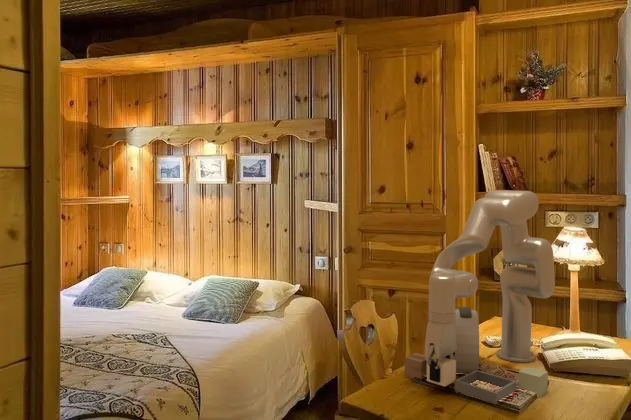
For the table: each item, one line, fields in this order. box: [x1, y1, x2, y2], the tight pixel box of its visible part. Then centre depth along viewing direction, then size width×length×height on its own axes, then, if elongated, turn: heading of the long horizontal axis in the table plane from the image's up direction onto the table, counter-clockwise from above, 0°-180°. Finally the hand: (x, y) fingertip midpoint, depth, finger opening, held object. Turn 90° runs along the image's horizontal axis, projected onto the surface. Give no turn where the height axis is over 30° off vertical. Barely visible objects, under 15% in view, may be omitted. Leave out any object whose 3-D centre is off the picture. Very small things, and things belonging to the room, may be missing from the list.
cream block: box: [426, 357, 457, 387], centre depth 154 cm, size 6×6×6 cm
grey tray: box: [454, 369, 518, 404], centre depth 152 cm, size 13×13×4 cm
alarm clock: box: [454, 306, 480, 374], centre depth 172 cm, size 21×8×20 cm, turn 168°
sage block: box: [517, 365, 549, 399], centre depth 153 cm, size 6×6×6 cm
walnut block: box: [404, 352, 427, 380], centre depth 165 cm, size 6×6×6 cm
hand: (441, 377), depth 154 cm, fingers closed on cream block, 6 cm apart
